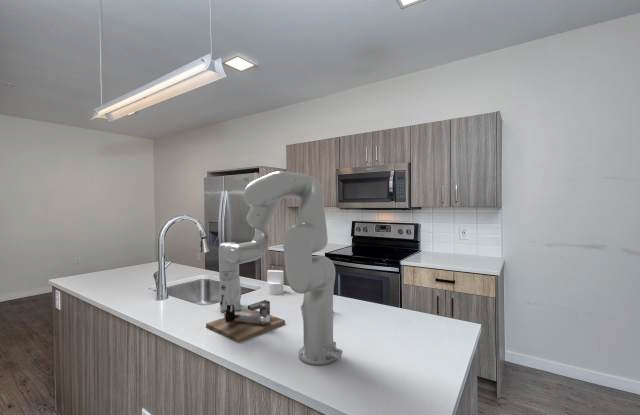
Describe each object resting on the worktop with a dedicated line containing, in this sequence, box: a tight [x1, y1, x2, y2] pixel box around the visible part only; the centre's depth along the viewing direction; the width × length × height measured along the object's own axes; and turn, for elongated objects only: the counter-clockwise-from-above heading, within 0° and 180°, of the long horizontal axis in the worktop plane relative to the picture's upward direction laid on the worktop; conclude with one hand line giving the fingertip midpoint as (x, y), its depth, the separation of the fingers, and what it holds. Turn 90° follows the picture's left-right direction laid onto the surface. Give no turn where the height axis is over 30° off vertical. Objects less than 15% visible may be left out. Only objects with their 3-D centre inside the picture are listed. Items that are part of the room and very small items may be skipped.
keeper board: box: [205, 299, 286, 344], centre depth 121 cm, size 22×22×8 cm
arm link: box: [223, 303, 271, 325], centre depth 120 cm, size 19×4×8 cm, turn 74°
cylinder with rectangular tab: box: [266, 269, 285, 296], centre depth 166 cm, size 9×9×12 cm
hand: (230, 320), depth 119 cm, fingers closed
